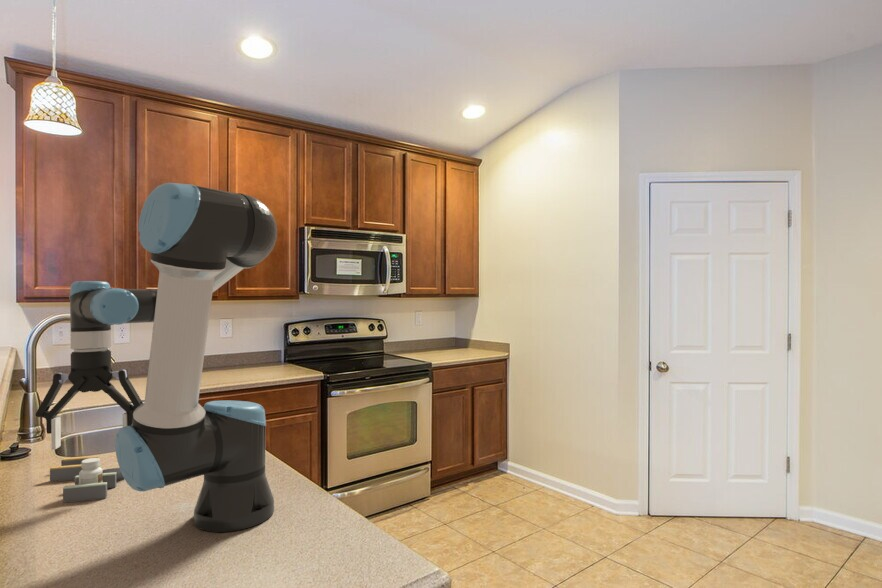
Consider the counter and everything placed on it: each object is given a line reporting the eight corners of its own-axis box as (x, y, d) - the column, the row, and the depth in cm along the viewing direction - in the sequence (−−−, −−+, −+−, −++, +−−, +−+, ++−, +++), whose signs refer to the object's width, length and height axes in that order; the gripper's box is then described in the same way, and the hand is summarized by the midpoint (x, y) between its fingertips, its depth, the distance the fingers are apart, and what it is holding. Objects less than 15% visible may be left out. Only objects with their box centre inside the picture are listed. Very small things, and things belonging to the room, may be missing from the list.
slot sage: (105, 498, 112) (105, 483, 112) (63, 502, 110) (63, 487, 110) (116, 486, 119) (116, 472, 119) (76, 489, 117) (76, 475, 117)
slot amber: (88, 478, 124) (88, 465, 124) (49, 481, 122) (49, 468, 122) (99, 468, 131) (99, 455, 131) (62, 471, 129) (62, 458, 129)
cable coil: (121, 483, 121) (121, 476, 121) (87, 486, 119) (87, 479, 119) (129, 473, 128) (129, 466, 128) (97, 476, 126) (97, 469, 126)
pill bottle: (105, 494, 115) (104, 459, 115) (81, 500, 112) (81, 464, 112) (99, 489, 118) (99, 455, 118) (76, 494, 115) (76, 460, 114)
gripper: (157, 346, 122) (158, 435, 122) (33, 351, 115) (33, 445, 114) (149, 348, 115) (150, 443, 114) (16, 354, 107) (16, 455, 107)
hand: (91, 444), depth 114 cm, fingers open, 13 cm apart
